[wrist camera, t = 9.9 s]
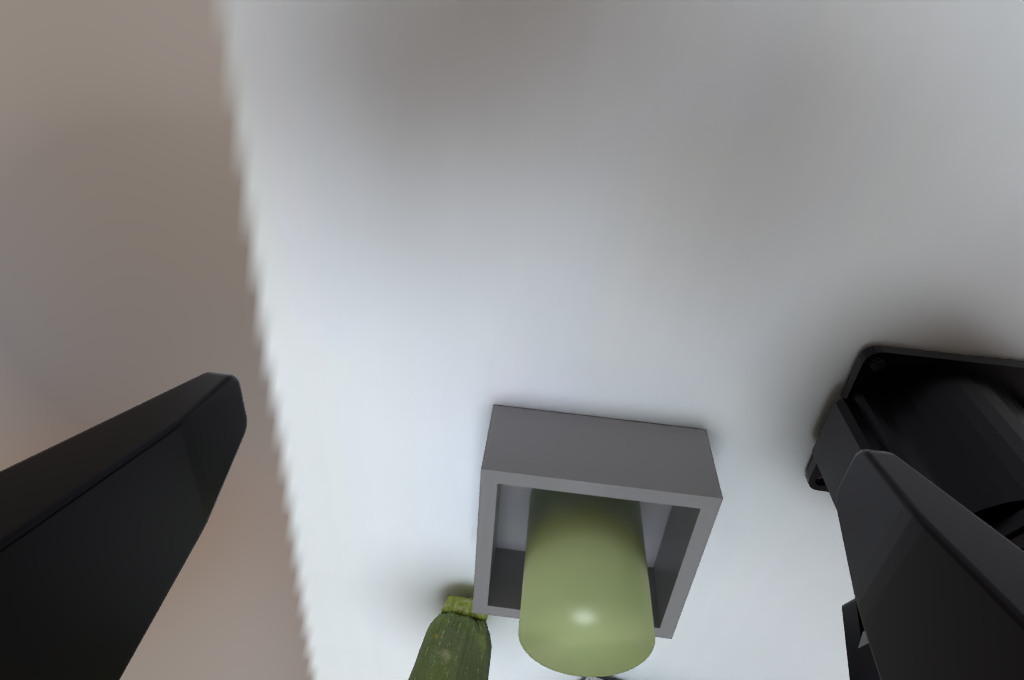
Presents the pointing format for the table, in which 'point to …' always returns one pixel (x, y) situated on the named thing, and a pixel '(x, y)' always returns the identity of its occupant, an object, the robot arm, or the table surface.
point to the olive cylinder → (585, 585)
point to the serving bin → (599, 472)
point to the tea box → (592, 678)
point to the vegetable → (455, 644)
